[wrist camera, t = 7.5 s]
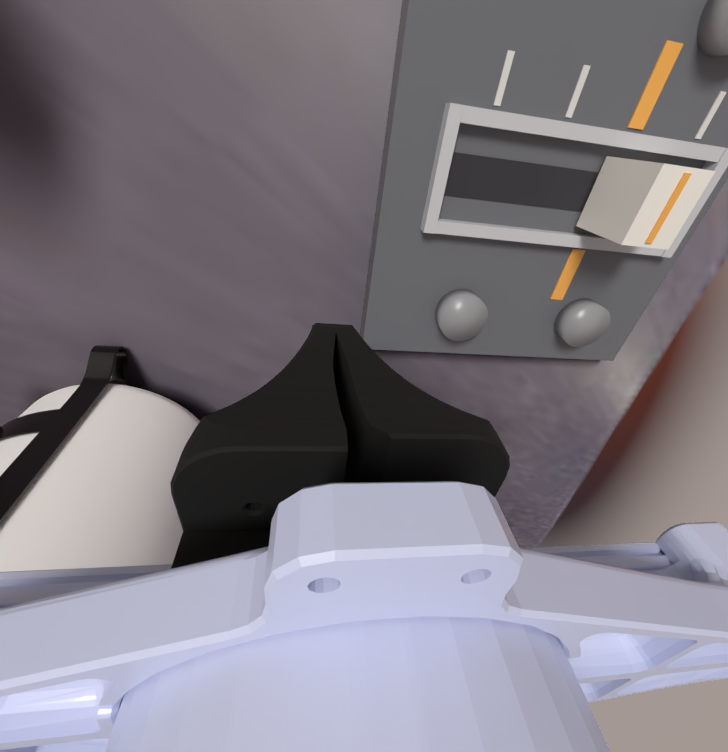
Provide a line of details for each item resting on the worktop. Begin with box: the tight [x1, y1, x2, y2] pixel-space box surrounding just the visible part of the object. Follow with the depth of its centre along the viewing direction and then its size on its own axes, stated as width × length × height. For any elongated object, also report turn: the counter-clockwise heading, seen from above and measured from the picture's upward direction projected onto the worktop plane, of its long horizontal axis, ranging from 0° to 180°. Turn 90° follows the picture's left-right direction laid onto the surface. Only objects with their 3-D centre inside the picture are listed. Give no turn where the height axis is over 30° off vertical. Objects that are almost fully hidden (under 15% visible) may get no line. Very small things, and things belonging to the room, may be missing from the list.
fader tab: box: [576, 156, 716, 250], centre depth 17 cm, size 3×2×4 cm
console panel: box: [360, 0, 728, 361], centre depth 18 cm, size 20×18×3 cm
